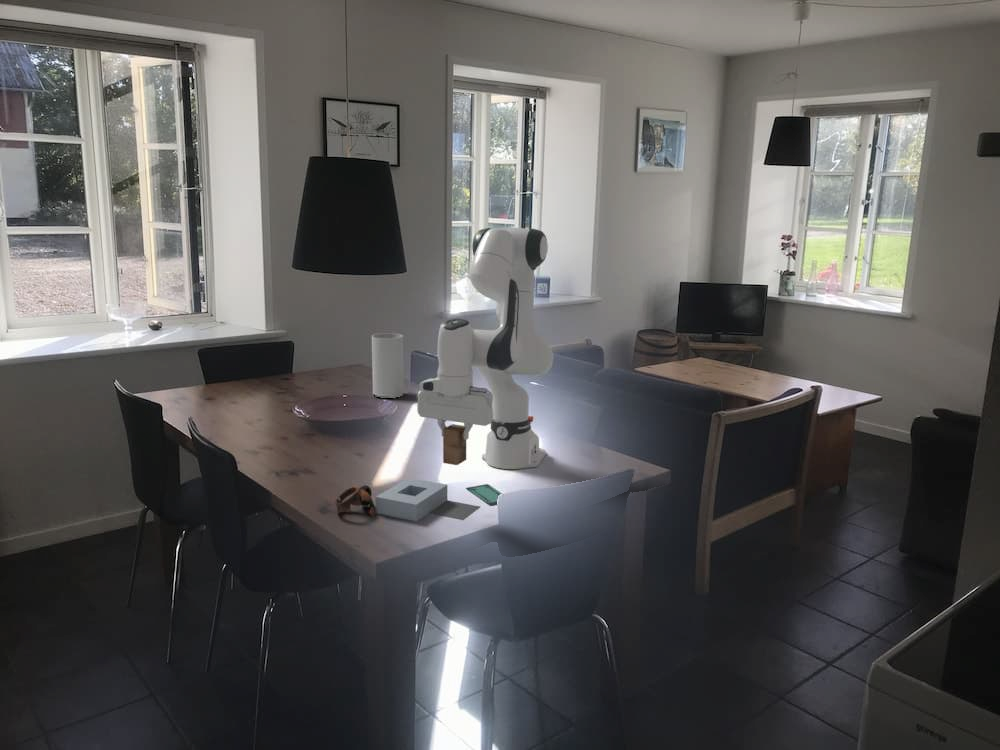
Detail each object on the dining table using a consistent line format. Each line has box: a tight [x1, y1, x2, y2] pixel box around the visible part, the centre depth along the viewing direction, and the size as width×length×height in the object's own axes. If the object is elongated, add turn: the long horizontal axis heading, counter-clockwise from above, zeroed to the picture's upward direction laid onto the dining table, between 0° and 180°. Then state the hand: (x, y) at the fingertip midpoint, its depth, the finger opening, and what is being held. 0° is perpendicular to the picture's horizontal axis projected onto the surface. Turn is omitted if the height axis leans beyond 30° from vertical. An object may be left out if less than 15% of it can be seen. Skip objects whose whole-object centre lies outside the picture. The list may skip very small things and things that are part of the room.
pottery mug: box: [334, 484, 377, 517], centre depth 205 cm, size 12×10×8 cm
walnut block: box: [442, 423, 467, 466], centre depth 203 cm, size 5×4×9 cm
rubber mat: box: [428, 499, 481, 521], centre depth 207 cm, size 10×10×1 cm
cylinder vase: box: [371, 332, 405, 397], centre depth 325 cm, size 12×12×25 cm
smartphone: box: [465, 483, 503, 507], centre depth 218 cm, size 7×1×15 cm
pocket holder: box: [375, 477, 448, 522], centre depth 208 cm, size 16×12×5 cm
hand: (455, 437), depth 202 cm, fingers closed on walnut block, 4 cm apart
